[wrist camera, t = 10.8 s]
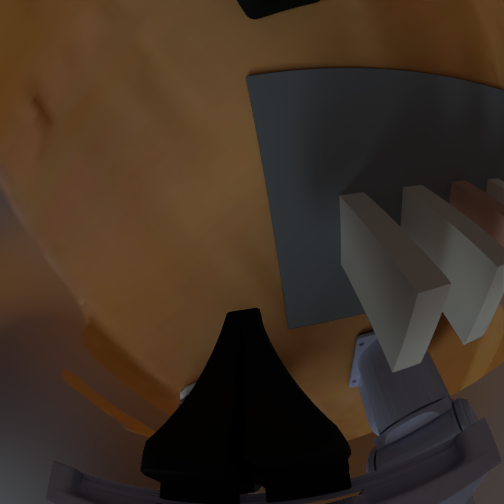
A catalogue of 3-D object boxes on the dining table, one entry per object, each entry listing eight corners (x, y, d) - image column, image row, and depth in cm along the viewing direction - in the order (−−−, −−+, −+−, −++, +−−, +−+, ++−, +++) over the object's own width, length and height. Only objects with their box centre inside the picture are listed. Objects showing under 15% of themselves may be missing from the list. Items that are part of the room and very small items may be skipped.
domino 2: (421, 185, 15) (516, 259, 8) (415, 248, 18) (483, 335, 10) (402, 187, 15) (497, 267, 8) (397, 252, 18) (463, 344, 10)
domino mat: (508, 264, 20) (510, 266, 20) (287, 325, 22) (288, 329, 21) (532, 101, 11) (535, 101, 10) (245, 77, 12) (246, 76, 12)
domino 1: (363, 191, 16) (451, 283, 8) (362, 259, 18) (420, 363, 11) (339, 195, 16) (417, 293, 8) (341, 263, 18) (392, 372, 11)
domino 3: (465, 180, 15) (553, 243, 7) (457, 238, 18) (524, 311, 10) (451, 181, 15) (542, 248, 7) (443, 242, 18) (511, 319, 10)
